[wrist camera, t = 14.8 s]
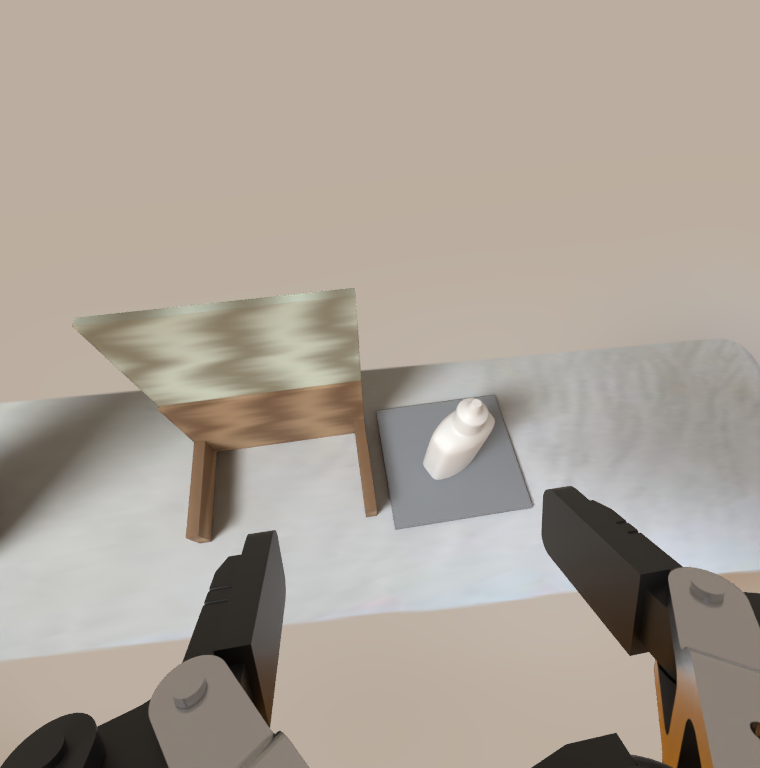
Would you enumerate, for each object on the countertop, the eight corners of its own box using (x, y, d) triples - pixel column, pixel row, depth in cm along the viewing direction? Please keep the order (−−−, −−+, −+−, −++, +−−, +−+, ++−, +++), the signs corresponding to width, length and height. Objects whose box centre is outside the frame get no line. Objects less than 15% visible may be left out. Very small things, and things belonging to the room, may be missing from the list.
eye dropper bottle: (418, 439, 40) (433, 379, 29) (472, 435, 40) (507, 374, 29) (424, 482, 37) (443, 434, 27) (482, 477, 38) (522, 427, 27)
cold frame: (200, 543, 35) (25, 480, 17) (207, 444, 39) (74, 316, 22) (376, 515, 36) (377, 431, 19) (363, 422, 41) (354, 286, 23)
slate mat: (395, 529, 36) (395, 529, 35) (376, 412, 41) (376, 410, 41) (531, 507, 37) (532, 506, 36) (493, 396, 43) (494, 394, 42)
